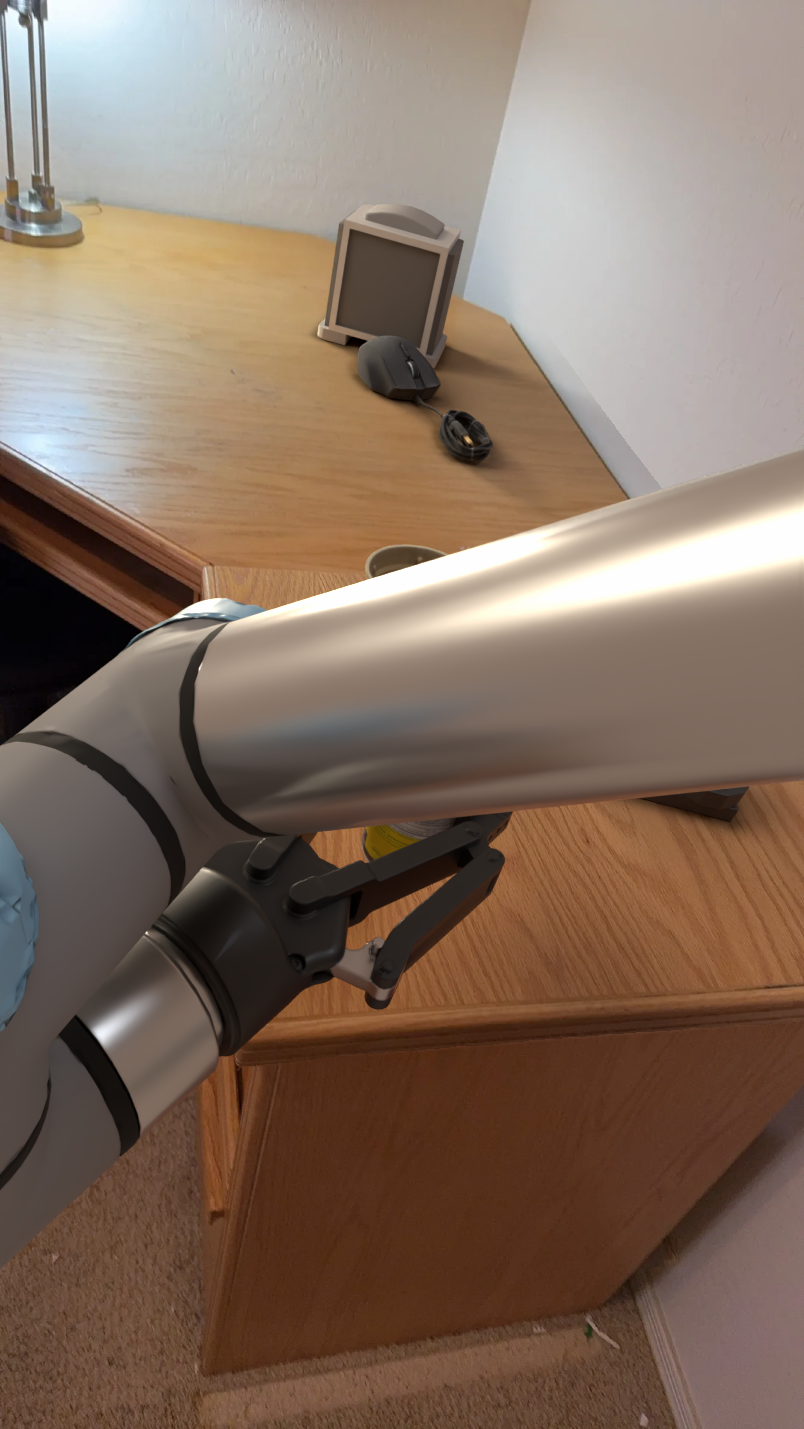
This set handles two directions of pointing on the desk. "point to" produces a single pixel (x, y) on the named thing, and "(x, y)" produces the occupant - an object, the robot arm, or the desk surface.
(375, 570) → the flower pot
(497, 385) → the desk surface
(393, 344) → the computer mouse
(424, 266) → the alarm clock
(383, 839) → the supplement bottle
